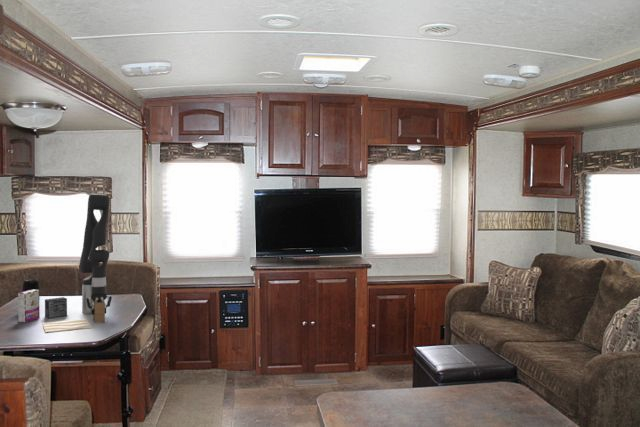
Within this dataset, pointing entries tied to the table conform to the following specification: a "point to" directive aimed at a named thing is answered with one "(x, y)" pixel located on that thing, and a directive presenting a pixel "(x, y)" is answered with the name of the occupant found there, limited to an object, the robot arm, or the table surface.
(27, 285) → the portable speaker
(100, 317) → the walnut block
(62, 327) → the beige cloth mat
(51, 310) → the small box
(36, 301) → the candy bar box
